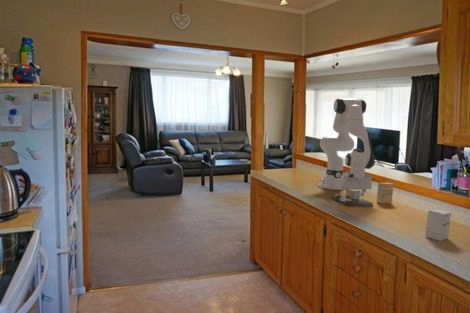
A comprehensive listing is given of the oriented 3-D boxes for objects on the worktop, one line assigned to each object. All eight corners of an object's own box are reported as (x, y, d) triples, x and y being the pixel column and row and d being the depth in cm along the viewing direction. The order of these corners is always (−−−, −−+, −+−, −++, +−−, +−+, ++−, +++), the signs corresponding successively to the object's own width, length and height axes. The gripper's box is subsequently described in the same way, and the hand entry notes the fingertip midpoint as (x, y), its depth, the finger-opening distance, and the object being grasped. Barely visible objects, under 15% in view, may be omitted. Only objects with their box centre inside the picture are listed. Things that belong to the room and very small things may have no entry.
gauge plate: (331, 198, 255) (331, 192, 254) (356, 198, 259) (356, 192, 258) (345, 206, 235) (346, 199, 235) (372, 206, 239) (373, 199, 239)
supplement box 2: (440, 241, 175) (443, 214, 174) (424, 236, 181) (427, 210, 180) (448, 239, 179) (451, 212, 178) (432, 234, 185) (435, 208, 184)
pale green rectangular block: (350, 197, 250) (351, 190, 249) (356, 197, 251) (356, 190, 250) (353, 199, 246) (354, 191, 246) (359, 199, 247) (360, 191, 246)
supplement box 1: (380, 204, 246) (382, 183, 245) (376, 202, 251) (378, 182, 250) (392, 203, 249) (394, 183, 247) (387, 202, 253) (389, 182, 252)
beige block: (346, 196, 256) (346, 188, 255) (351, 196, 257) (352, 188, 256) (349, 197, 252) (349, 189, 251) (354, 197, 253) (355, 189, 252)
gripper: (369, 173, 252) (367, 194, 254) (340, 173, 248) (338, 194, 249) (374, 175, 246) (372, 197, 247) (345, 175, 242) (343, 197, 243)
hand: (355, 195), depth 248 cm, fingers open, 8 cm apart
